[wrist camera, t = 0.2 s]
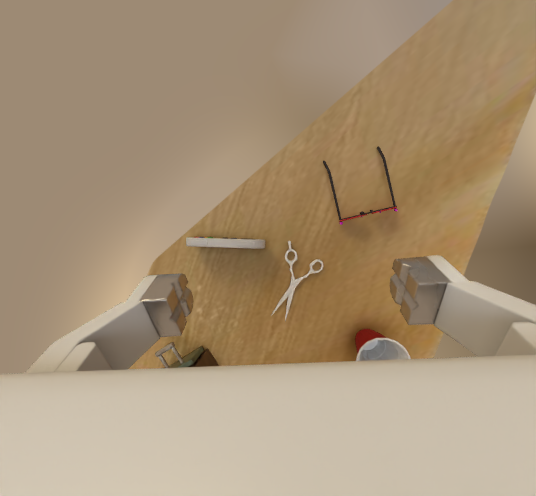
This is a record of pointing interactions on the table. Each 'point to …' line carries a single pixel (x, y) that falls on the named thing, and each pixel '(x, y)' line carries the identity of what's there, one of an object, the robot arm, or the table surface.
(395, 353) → the plastic cup
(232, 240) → the game controller
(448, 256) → the table surface
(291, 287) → the scissors
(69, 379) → the robot arm
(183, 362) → the drawer
